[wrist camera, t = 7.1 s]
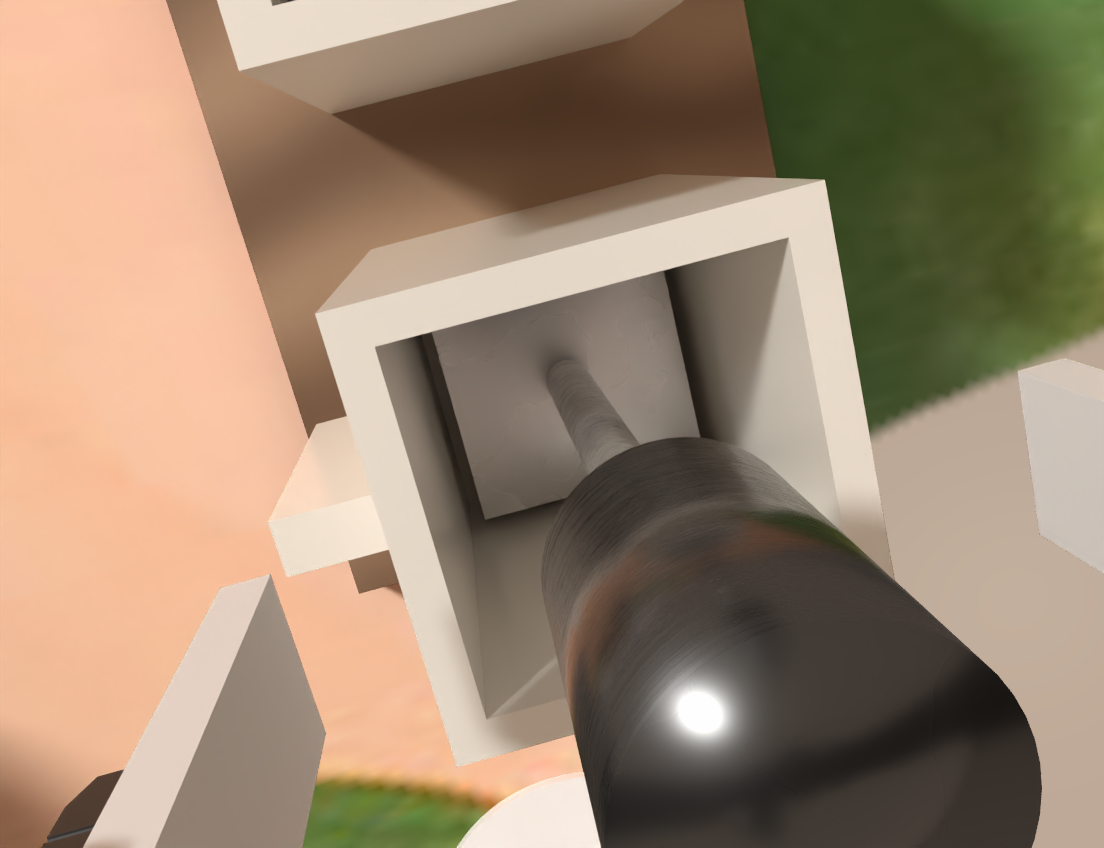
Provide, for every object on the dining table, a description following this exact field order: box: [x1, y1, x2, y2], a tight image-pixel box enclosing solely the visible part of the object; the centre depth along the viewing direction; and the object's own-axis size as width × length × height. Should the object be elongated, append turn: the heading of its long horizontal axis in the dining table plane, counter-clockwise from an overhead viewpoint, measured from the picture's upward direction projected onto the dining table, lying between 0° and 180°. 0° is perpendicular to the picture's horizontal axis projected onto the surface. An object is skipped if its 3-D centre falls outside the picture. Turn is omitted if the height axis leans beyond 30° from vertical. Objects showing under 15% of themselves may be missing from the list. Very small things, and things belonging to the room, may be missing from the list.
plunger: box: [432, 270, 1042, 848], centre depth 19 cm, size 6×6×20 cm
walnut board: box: [166, 0, 777, 594], centre depth 31 cm, size 25×16×2 cm, turn 14°
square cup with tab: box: [268, 174, 895, 767], centre depth 25 cm, size 9×11×14 cm
